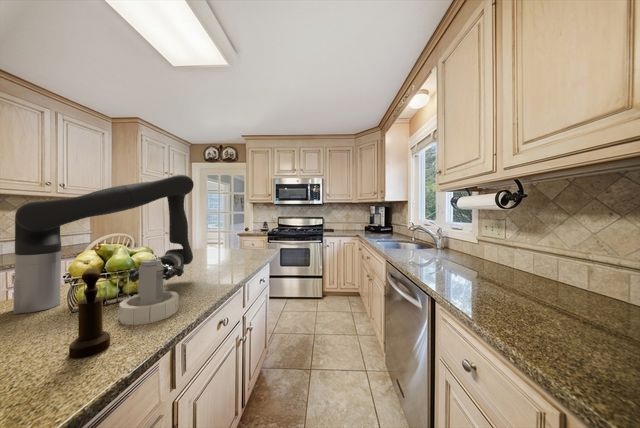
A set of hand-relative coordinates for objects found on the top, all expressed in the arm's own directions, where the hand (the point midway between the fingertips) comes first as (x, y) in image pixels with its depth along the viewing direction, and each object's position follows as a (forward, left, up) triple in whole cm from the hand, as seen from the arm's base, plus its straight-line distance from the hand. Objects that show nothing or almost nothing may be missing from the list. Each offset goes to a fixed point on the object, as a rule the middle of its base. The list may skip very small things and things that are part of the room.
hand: (150, 277), depth 70 cm
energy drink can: (0, 0, -10) cm, 10 cm away
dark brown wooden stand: (-14, -12, -11) cm, 21 cm away
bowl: (0, 0, -11) cm, 11 cm away
